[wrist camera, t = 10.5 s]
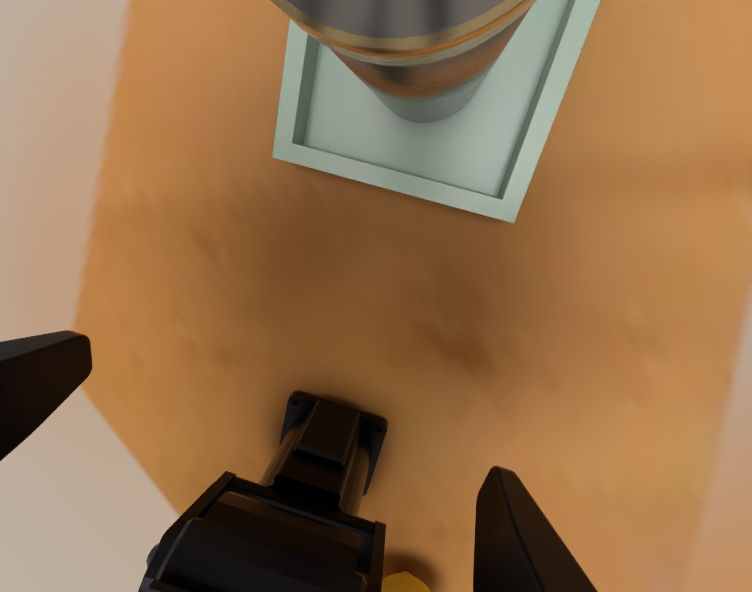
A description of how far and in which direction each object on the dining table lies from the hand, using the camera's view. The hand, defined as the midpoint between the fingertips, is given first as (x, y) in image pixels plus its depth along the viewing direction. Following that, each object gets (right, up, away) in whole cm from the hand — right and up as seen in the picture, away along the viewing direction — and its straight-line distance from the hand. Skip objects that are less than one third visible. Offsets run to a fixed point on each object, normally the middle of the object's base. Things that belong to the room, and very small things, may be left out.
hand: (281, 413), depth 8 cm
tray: (+4, +13, +9) cm, 16 cm away
